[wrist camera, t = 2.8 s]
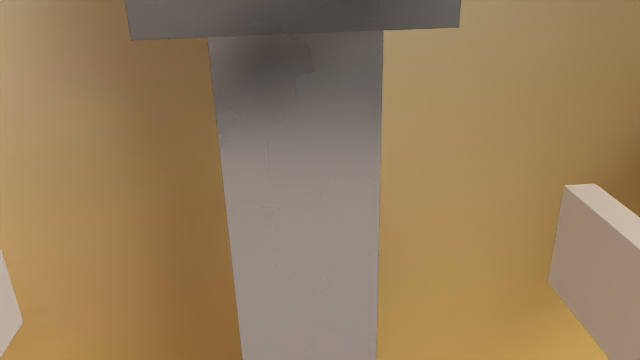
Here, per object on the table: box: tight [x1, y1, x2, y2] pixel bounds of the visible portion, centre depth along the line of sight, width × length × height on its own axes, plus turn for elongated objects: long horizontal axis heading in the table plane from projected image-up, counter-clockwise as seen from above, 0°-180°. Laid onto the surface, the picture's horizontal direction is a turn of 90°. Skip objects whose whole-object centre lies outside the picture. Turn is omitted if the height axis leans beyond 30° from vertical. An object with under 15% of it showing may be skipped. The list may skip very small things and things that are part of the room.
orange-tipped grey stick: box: [207, 30, 383, 360], centre depth 13 cm, size 4×25×4 cm, turn 2°
